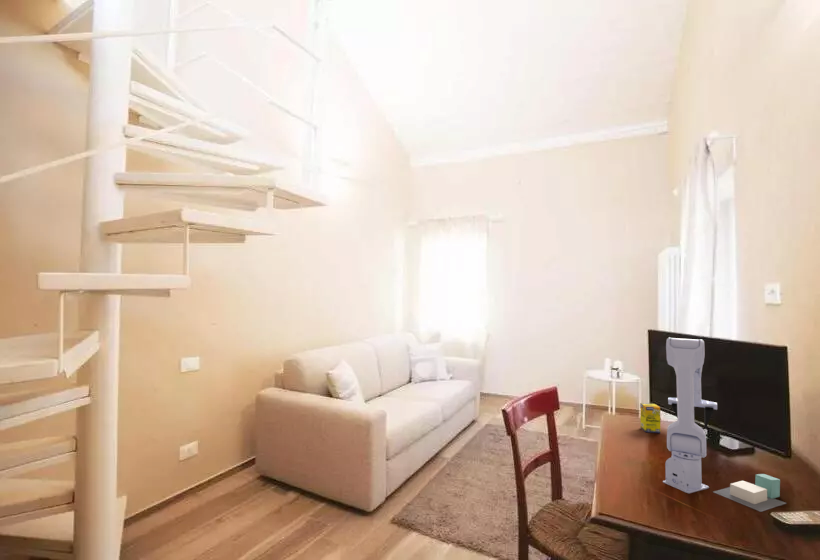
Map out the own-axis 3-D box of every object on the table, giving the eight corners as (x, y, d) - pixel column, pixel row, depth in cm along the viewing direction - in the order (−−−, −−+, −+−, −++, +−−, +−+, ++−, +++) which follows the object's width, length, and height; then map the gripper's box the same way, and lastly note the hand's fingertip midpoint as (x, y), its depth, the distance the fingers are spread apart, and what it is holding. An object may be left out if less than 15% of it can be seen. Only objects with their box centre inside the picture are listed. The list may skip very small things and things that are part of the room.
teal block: (771, 498, 116) (771, 480, 117) (754, 492, 120) (755, 474, 120) (779, 497, 118) (780, 479, 118) (763, 491, 121) (763, 473, 122)
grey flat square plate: (760, 512, 109) (760, 511, 109) (712, 492, 120) (712, 491, 120) (786, 504, 114) (786, 503, 114) (737, 485, 125) (737, 484, 125)
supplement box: (645, 432, 174) (645, 406, 174) (640, 428, 180) (639, 402, 180) (661, 433, 173) (660, 407, 173) (655, 429, 179) (654, 403, 179)
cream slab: (754, 504, 113) (754, 493, 113) (730, 494, 119) (730, 483, 119) (767, 500, 115) (767, 489, 116) (743, 490, 121) (742, 480, 121)
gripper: (715, 387, 148) (716, 424, 149) (667, 383, 156) (668, 418, 157) (717, 394, 142) (718, 432, 143) (667, 389, 150) (669, 425, 151)
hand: (692, 425), depth 149 cm, fingers open, 7 cm apart
